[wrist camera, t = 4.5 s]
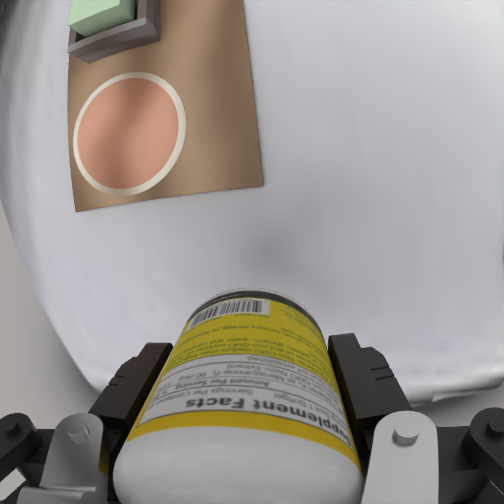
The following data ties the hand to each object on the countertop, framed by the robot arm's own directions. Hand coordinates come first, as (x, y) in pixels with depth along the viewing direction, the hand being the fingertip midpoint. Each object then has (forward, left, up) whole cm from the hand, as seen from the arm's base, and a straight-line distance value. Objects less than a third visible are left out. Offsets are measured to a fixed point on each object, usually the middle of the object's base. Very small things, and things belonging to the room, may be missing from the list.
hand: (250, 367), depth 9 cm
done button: (+8, -19, -9) cm, 23 cm away
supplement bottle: (0, 0, -1) cm, 1 cm away
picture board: (+6, -14, -13) cm, 20 cm away
